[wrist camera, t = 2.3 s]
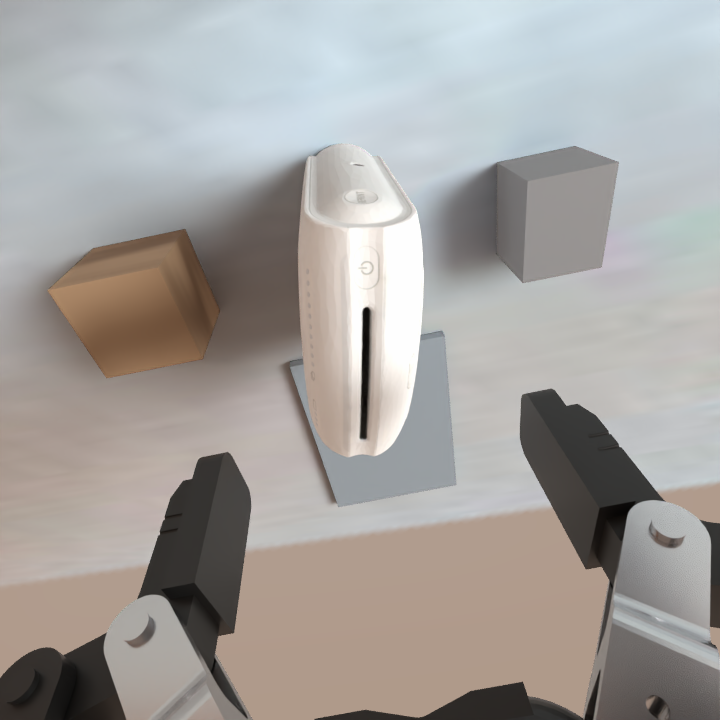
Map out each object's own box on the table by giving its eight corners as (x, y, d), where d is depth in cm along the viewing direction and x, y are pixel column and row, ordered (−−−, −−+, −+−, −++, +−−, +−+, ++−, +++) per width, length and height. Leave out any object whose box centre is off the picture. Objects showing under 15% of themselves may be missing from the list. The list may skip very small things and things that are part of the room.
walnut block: (94, 247, 23) (47, 290, 19) (185, 228, 23) (157, 267, 19) (138, 326, 26) (106, 378, 22) (220, 310, 26) (202, 358, 22)
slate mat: (290, 361, 28) (289, 367, 28) (442, 330, 28) (444, 335, 27) (338, 501, 37) (338, 507, 36) (454, 479, 37) (456, 484, 36)
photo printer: (298, 139, 21) (284, 223, 11) (387, 139, 21) (453, 220, 11) (309, 324, 27) (307, 489, 17) (378, 322, 27) (417, 482, 17)
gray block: (496, 162, 22) (527, 181, 19) (574, 145, 22) (618, 162, 19) (495, 253, 25) (522, 283, 22) (564, 239, 25) (601, 267, 22)
